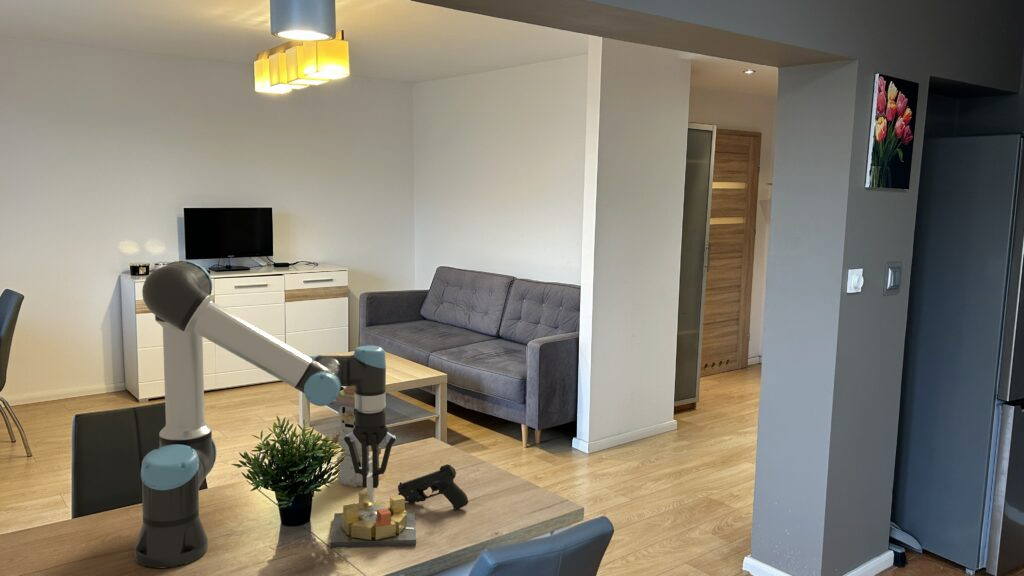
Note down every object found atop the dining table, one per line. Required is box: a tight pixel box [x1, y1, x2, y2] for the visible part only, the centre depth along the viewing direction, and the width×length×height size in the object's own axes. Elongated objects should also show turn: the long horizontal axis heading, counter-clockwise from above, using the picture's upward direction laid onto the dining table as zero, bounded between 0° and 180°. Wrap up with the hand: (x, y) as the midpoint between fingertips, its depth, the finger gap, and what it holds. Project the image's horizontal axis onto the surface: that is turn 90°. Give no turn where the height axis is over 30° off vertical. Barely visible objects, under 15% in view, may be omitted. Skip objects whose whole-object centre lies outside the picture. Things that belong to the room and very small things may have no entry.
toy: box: [330, 386, 382, 488], centre depth 221 cm, size 16×12×30 cm
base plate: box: [329, 505, 417, 549], centre depth 192 cm, size 20×16×5 cm
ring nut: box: [341, 489, 407, 540], centre depth 192 cm, size 15×15×6 cm
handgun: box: [397, 464, 469, 511], centre depth 208 cm, size 2×17×12 cm, turn 79°
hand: (370, 499), depth 197 cm, fingers closed
